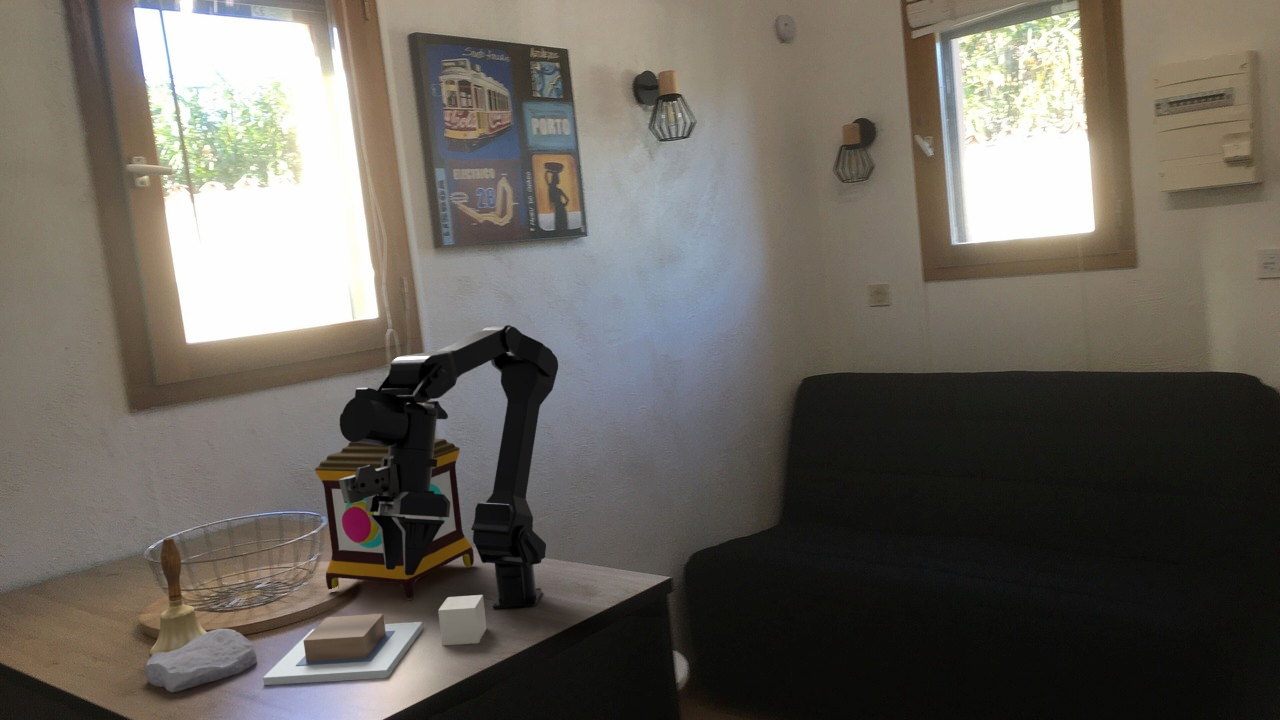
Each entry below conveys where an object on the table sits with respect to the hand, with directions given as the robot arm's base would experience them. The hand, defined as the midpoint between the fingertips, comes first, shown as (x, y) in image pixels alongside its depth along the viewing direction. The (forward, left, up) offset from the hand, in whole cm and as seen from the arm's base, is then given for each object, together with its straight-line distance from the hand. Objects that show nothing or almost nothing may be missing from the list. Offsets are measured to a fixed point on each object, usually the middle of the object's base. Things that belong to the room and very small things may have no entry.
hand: (399, 572), depth 123 cm
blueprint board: (-4, -10, -12) cm, 16 cm away
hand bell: (-11, -37, -13) cm, 41 cm away
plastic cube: (-8, +5, -12) cm, 16 cm away
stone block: (-2, -28, -13) cm, 31 cm away
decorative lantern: (-35, -12, -13) cm, 39 cm away
